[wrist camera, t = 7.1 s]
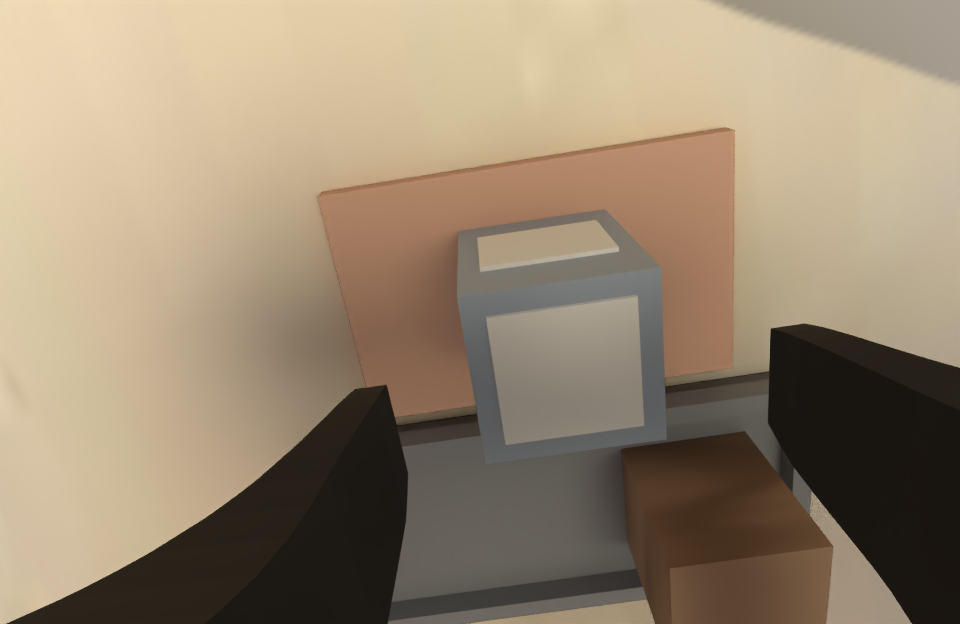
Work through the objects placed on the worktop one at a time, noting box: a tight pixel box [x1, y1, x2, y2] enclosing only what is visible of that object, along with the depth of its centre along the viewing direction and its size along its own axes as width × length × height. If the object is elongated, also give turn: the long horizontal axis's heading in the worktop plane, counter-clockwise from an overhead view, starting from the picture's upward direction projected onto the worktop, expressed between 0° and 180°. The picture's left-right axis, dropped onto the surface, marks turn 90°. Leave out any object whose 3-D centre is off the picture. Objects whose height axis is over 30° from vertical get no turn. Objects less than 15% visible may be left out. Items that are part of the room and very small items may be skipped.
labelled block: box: [457, 209, 667, 464], centre depth 15 cm, size 4×4×5 cm
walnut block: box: [621, 431, 833, 624], centre depth 18 cm, size 4×4×5 cm
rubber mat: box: [317, 128, 735, 417], centre depth 17 cm, size 11×7×1 cm, turn 99°
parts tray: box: [388, 372, 811, 624], centre depth 20 cm, size 16×8×1 cm, turn 99°
